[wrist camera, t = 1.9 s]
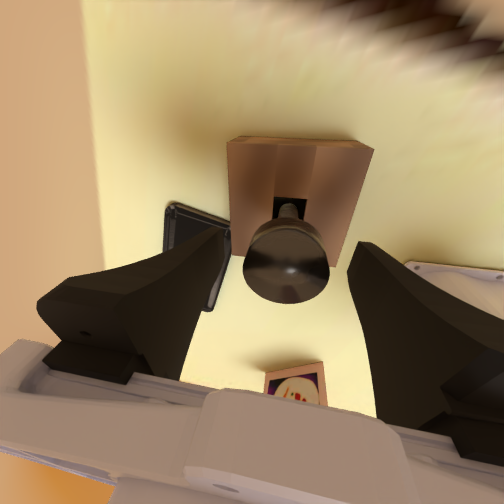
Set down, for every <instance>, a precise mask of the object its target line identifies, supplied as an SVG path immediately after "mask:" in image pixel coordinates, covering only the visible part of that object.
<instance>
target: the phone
mask: <svg viewBox="0 0 504 504" xmlns="http://www.w3.org/2000/svg"><path fill="white" fill-rule="evenodd" d="M211 227H221V228H223V237H224V251H225V259H224V262H223V265H222V268H221V271H220V273H219V275H218V277H217V280H216V282H215V284H214V286H213V288H212V290H211V292H210V294H209V296H208V298H207V300H206V302H205V304H204V306H203V308H202V311H204V312H211V311H213V309H214V307H215V304H216V301H217V298H218V295H219V291H220V288H221V285H222V282H223V279H224V276H225V273H226V270H227V266H228V263H229V260H230V257H231V254H232V244H231V223H230V222H229V221H227V220H224V219H221V218H218V217H216V216H213V215H210V214H208V213H205V212H202V211H199V210H197V209H194V208H191V207H189V206H186V205H183V204H180V203H172V204H171V205H169V206H168V207H167V208H166V209H165V217H164V236H163V252H165V251H168V250H170V249H172V248H174V247H176V246H178V245H180V244H182V243H184V242H186V241H187V240H189V239H191V238H193V237H194V236H196V235H198V234H200V233H201V232H203V231H205V230H207V229H208V228H211Z"/></svg>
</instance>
